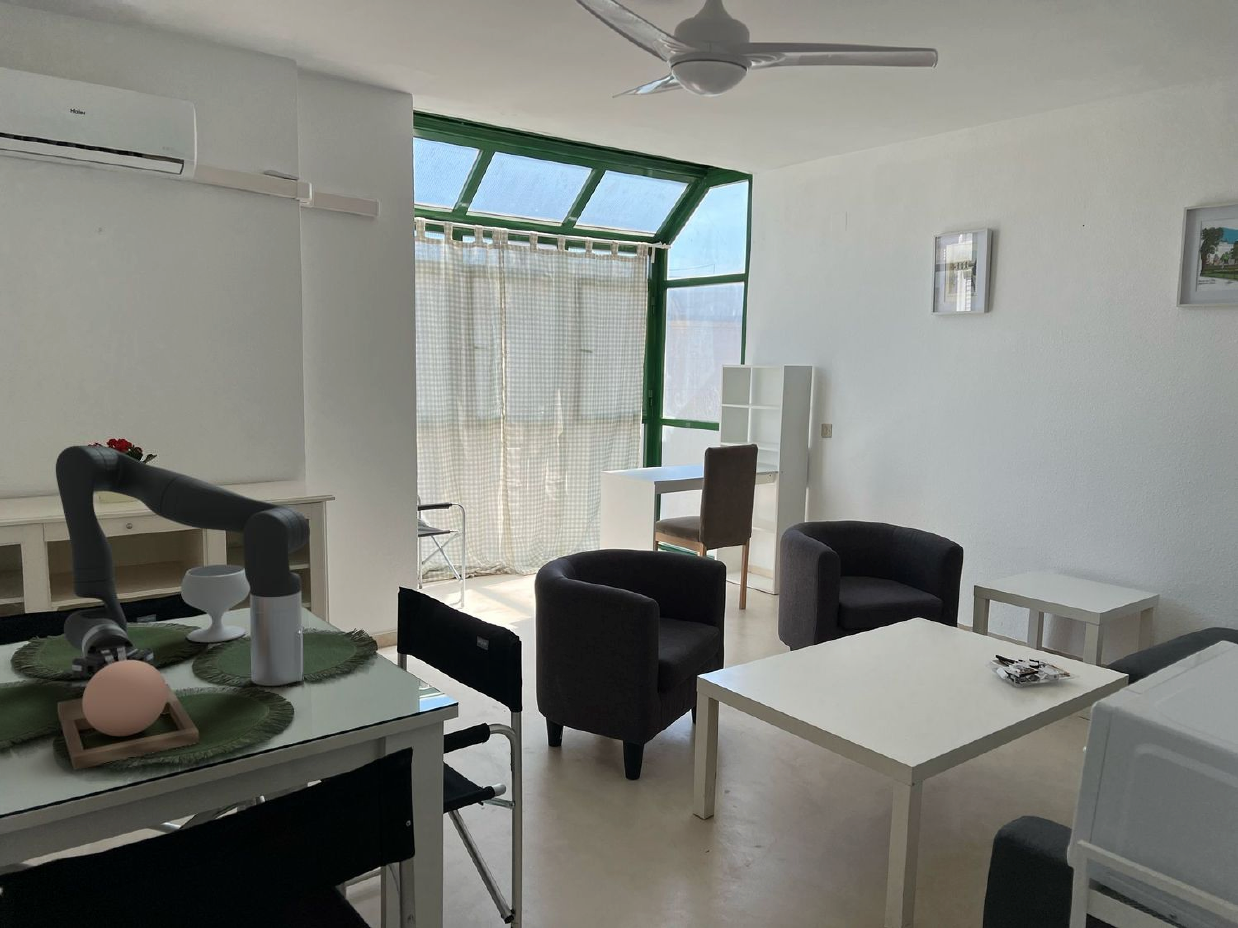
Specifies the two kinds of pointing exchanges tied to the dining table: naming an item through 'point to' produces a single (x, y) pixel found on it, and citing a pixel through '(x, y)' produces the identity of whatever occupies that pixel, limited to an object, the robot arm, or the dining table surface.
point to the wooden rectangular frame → (81, 758)
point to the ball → (124, 698)
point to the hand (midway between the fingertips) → (121, 674)
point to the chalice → (215, 598)
